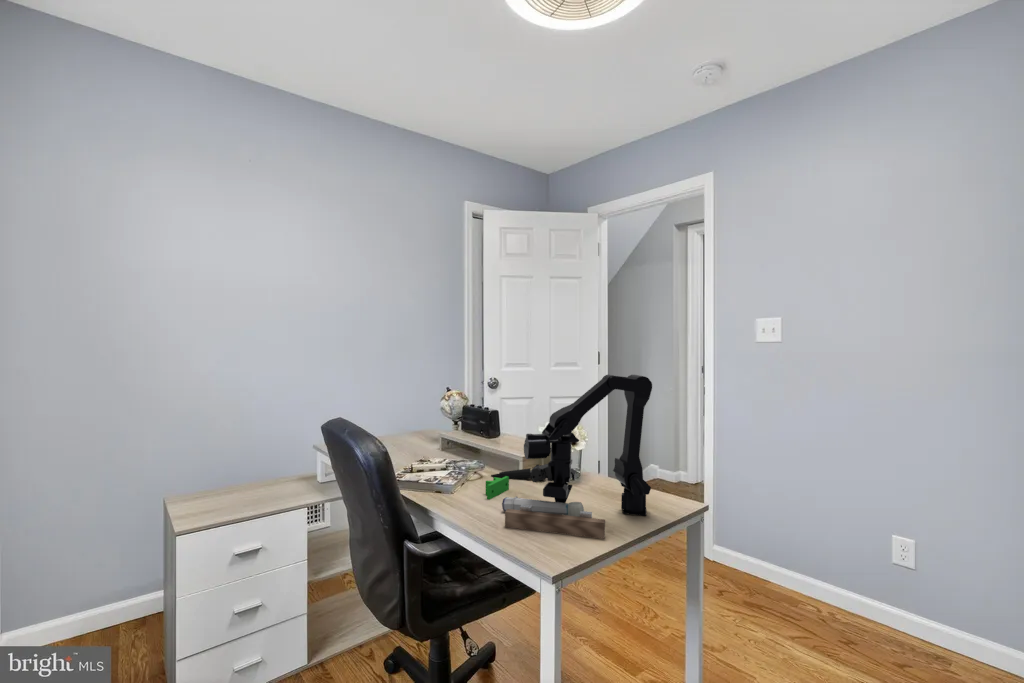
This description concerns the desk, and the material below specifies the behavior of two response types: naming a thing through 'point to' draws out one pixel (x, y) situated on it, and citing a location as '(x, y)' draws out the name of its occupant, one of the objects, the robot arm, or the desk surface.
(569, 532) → the rail
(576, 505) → the grey elongated rounded piece
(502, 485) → the pipe clamp
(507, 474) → the microphone
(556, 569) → the desk surface
